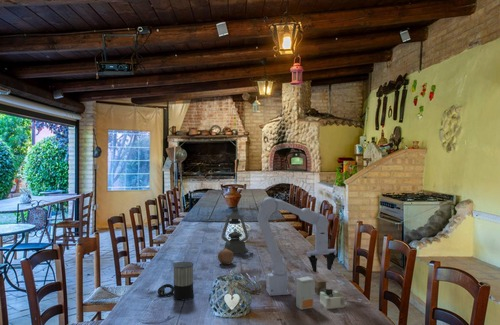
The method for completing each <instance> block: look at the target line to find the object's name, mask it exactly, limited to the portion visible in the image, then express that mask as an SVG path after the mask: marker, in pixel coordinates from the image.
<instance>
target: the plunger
mask: <svg viewBox="0 0 500 325" xmlns="http://www.w3.org/2000/svg"><path fill="white" fill-rule="evenodd" d="M320 292H324V293H326V294H327V295H328V297H330V298H331V297H333V289H332V288H326V289H320Z"/></svg>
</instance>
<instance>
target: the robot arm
mask: <svg viewBox="0 0 500 325" xmlns="http://www.w3.org/2000/svg"><path fill="white" fill-rule="evenodd" d="M259 204H260V205H259V208H258V214H257V219H256V220H257V223H258V225H259V228H260V230H261V233H262V236H263V239H264V242H265V244H266V248H267V249H268V253H269V255H270V258H271V264H272V270H271V272H270V273H267V274H266V278H265V281H266V286H265V287H266V292H267V293H268V295H269V296H271V297H272V296H282V295H284V296H285V295H290V294H291V293H290V291H289V290H288V271H287V269H288V267H287V264H286V259H285V258H284V257H283V256H282V254H281V252H280V249H279V246H278V244H277V241H276V238H275V236H274V233H273V231H272V228H271V224H270V222H269V219H270V217H271V215H272V214H273V213H274V212H275V211H277V212H278V211H282V210H283V211H286V212H289V213H291V214H294V215H296V216H298V217H299V220H301V221H303V222H305V223H308V224H310V225H314V226H315V231H314V240H315V242H314V244H315V245H314V246H315V247H314V248H315V249H313V250H310V251H306V257H307V258H308V260H309V264H310V265H311V268H312V272H314V273H317V268H318V267H317V263H318V257H317V256H324V255H325V256H326V257H325V258H326V269H327V270H329V271H332V266H333V263H334V261H335V259H336V257H337V255H336V254H337V249H335V248H329V236H328V233H329V230H328V227H329V224H330V222H329V220H328V218H327V217H326V216H325V215H323V214H322V213H320V212H316V211H313V210H311V208H309V207H307V208H306V207H304V208H300V207H298V206H295V205H293V204H291V203H288V201H284V200H282V199H279V198H274V197H272V196H266V197H264V198H263V199H262V201H261V203H259Z"/></svg>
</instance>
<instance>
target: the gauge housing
mask: <svg viewBox="0 0 500 325" xmlns="http://www.w3.org/2000/svg"><path fill="white" fill-rule="evenodd" d="M332 294H333V297H331V298H330V297H328V295H327V294H326V293H324V292H320V295H319V303H320V305H322V306H323V307H324V308H325V309H326V310H330V309H341V308H343V309H344V308H345V306H346V303H345V302H346V298H345V296H344V295H342V294H341V293H340V292H339V291H338V290H332Z"/></svg>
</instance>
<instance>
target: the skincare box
mask: <svg viewBox="0 0 500 325" xmlns="http://www.w3.org/2000/svg"><path fill="white" fill-rule="evenodd" d="M295 279H296V290H295V291H296V295H295V298H296V300H295V301H296V303H295V304H296V305H295V306H296V307H297V309H299V310H307V309H313V308H314V290H315V279H314V278H312V277H311V276H302V277H297V278H295Z"/></svg>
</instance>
